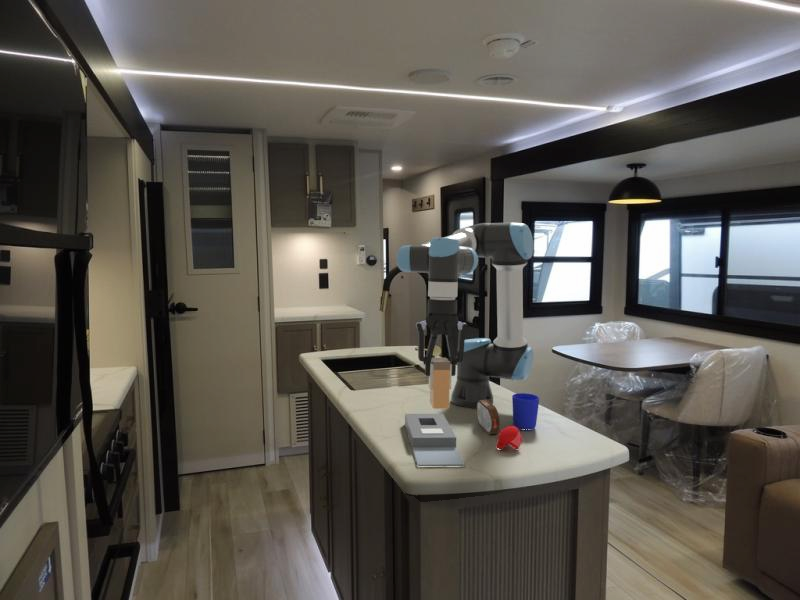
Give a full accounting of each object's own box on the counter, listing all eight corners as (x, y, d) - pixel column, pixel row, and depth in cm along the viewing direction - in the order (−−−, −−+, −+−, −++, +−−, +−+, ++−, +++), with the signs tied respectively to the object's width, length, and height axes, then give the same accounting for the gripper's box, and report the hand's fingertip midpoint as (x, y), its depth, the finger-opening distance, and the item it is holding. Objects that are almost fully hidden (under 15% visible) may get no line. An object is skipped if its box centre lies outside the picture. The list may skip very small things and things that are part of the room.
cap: (512, 430, 156) (496, 421, 154) (526, 429, 151) (511, 420, 149) (505, 457, 152) (489, 448, 150) (520, 457, 148) (504, 448, 146)
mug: (540, 422, 175) (541, 391, 174) (536, 433, 164) (538, 401, 163) (514, 419, 178) (515, 389, 177) (509, 430, 166) (510, 398, 166)
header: (442, 424, 171) (442, 412, 170) (455, 449, 149) (456, 436, 148) (404, 424, 169) (405, 413, 169) (412, 450, 148) (412, 437, 147)
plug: (444, 402, 144) (446, 357, 143) (448, 408, 138) (450, 362, 137) (429, 402, 144) (431, 357, 143) (433, 408, 138) (434, 362, 137)
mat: (455, 449, 149) (455, 447, 149) (464, 467, 137) (465, 464, 137) (412, 450, 148) (412, 447, 148) (417, 467, 136) (417, 464, 136)
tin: (500, 437, 160) (501, 409, 159) (490, 438, 159) (491, 410, 158) (484, 421, 174) (485, 396, 174) (474, 422, 174) (475, 396, 173)
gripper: (472, 297, 143) (468, 384, 145) (407, 296, 141) (405, 384, 143) (478, 300, 135) (475, 391, 138) (410, 298, 134) (408, 391, 136)
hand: (439, 387), depth 140 cm, fingers closed on plug, 4 cm apart
